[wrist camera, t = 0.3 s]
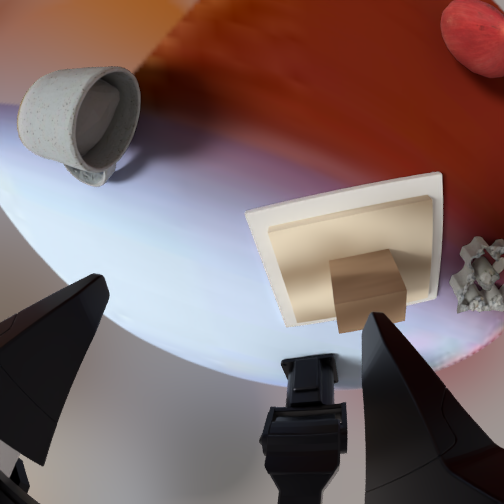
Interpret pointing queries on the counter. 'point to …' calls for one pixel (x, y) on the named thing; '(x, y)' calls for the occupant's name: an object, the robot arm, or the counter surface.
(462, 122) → the counter surface
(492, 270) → the grey jagged ring sculpture
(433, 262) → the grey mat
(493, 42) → the onion
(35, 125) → the ceramic mug
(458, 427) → the robot arm
